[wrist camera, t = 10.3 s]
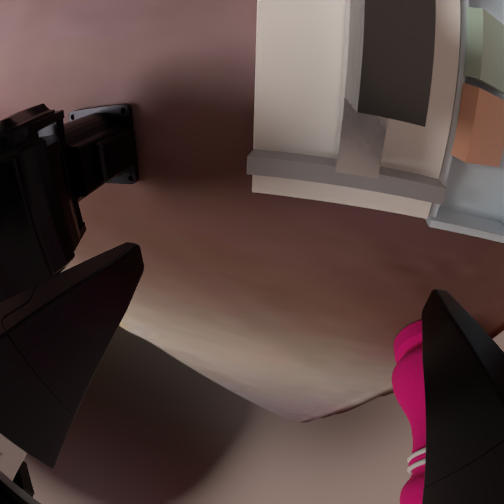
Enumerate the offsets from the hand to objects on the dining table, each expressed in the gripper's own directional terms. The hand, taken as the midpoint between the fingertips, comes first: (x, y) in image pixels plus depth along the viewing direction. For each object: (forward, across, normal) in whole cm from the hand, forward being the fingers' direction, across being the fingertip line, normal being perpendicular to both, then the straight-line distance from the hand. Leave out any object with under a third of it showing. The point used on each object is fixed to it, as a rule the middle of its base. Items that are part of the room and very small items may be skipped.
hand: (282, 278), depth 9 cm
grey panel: (+10, -2, -7) cm, 12 cm away
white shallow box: (+13, -2, -7) cm, 15 cm away
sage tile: (+12, -11, -10) cm, 18 cm away
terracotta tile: (+12, -11, -4) cm, 16 cm away
